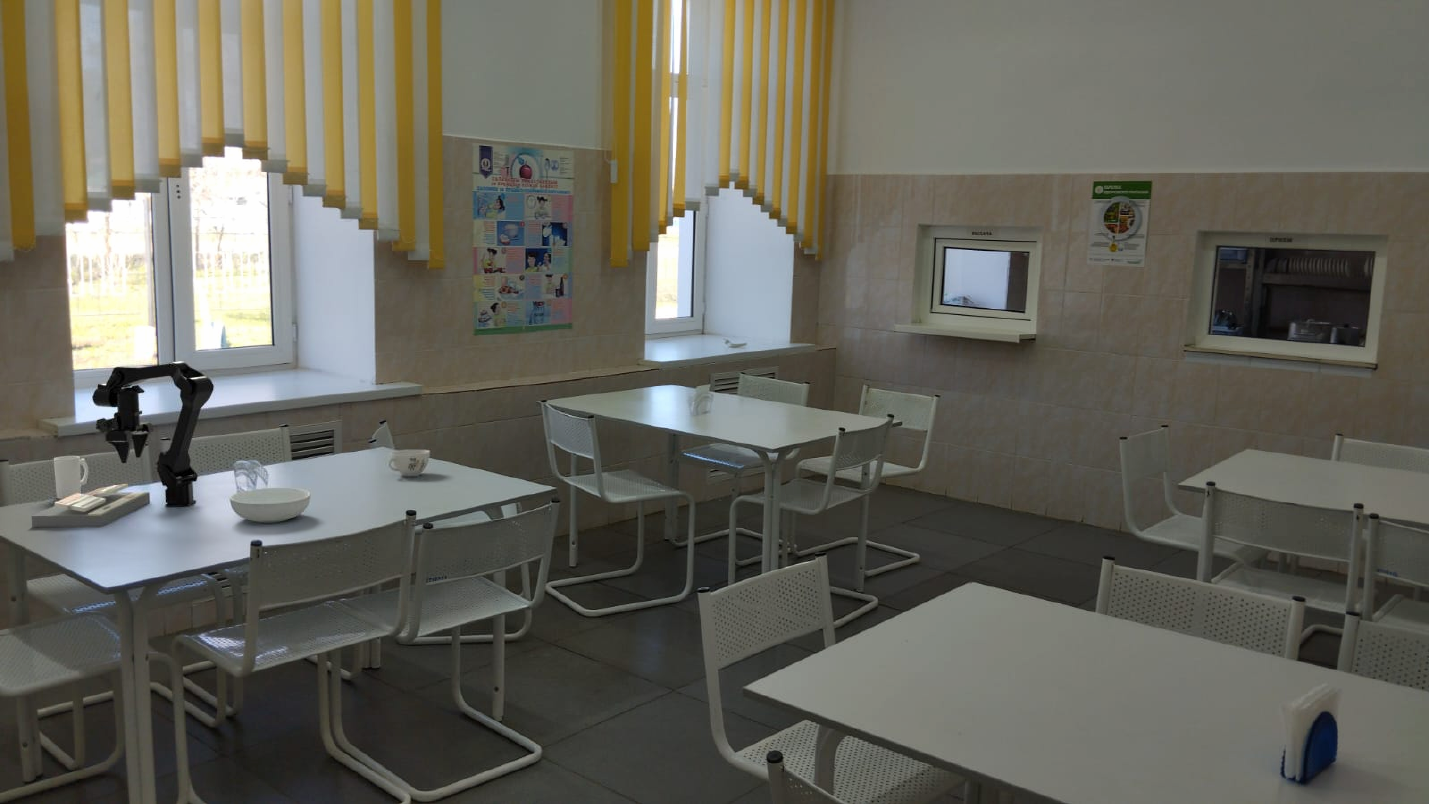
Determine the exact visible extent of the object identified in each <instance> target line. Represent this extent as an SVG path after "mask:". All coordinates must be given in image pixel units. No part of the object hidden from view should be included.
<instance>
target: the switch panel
mask: <svg viewBox="0 0 1429 804" xmlns="http://www.w3.org/2000/svg"><path fill="white" fill-rule="evenodd" d="M87 493H89V492H87V491H86V492H84V493H83V494H84V495H85V494H87ZM150 496H151V493H150V492H148V491H147V492H146V491H133V492H132V491H131V492H130V491H129V492H126V491H125V492H121V491H118V492H116V493H114V494H112V495H110V496H104V497H100V498H105V499H106V502H105V503H103V504H101V505H98V506H96V507H94V508H92V509H90V510H88V511H85V512H83V511H77V510H72V509H71V510H69V509H66V508H61V507H56V506H54V505H53V506H51V507H49V508H47V509H45V510H42V511H40V512H37V513H35V514H33V515H31V527H33V528H51V527H52V528H72V527H73V528H75V527H76V528H78V527H81V528H83V527H84V528H85V527H86V528H87V527H89V528H91V527H92V528H93V527H94V528H95V527H96V528H98V527H99V528H101V527H104V526H106V525H108V524H110V523H112V522H114V521H115V520H118V519H119V518H121V517H124V516H125V515H128V514H130V513H132V512H134V511H135V510H137V509H140V508H141V507H144V506H145V504H146V503H148V502H150V503H151V497H150ZM148 504H149V503H148ZM143 505H144V506H143ZM146 505H147V504H146Z"/></svg>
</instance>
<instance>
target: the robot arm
mask: <svg viewBox="0 0 1429 804" xmlns="http://www.w3.org/2000/svg"><path fill="white" fill-rule="evenodd" d="M164 377H170V378H171V379H172V381H173V384H174V386H175V387H176V388H178V389H179V390H180V393H179V397H180V401H181V404H182V406H181V409H180V412H179V415H178V419H177V423H176V426H175V429H174V433H173V437H172V440H171V442H170V446H169V448H168V450H164V451H160V452H159V456H158V460H157V462H156V463H155V464H156V467H157V468H156V472H157V474H158V476H159V479H160V482H161V484H162V487H166V488H165V489H164V490H165V503H166V504H164V505H165V507H189V506H191V505H192V504H194V503H196V502H197V500H196V499H194V485H193V484H194V483H196V482H197V480H198V477H199V475H198V473H197V472H196V471H195V470H194V468H193V467H192V466H191V457H190V454H189V449H190V447H191V443H192V440H193V436H194V433H195V429H196V426H197V423H198V419H199V416H200V413H201V409H202V408H203V407H204V405H205V404H206V403H207V402H208V401H209V400H210V399H211V396H212V394H213V392H214V390H215V389H214V388H215V385H214V383H213V381H212V380H211V378H209V377H208V376H206V375H205V374H204V373H202V372H201V371H199V370H197V369H195V368H193V367H192V366H189V365H188V363H186V361H185V362H184V361H183V360H182V361H181V360H180V361H172V362H169V363H165V364H155V365H150V366H143V365H137V364H136V365H135V364H131V365H123V366H115V367H114V368H112V371H111V375H110V376H109V378H108V380H107V382H106V383H98V384H97V388H96V389H95V390H94V392H93V393H92V394H93V395H92V402H93V404H94V405H95V406H96V407H103V408H104V407H105V408H117V411H116V412H114V413H113V417H111V418H109V419H106V418H105V417H102V418H99V419H96V423H95V429H96V430H98V431H99V432H100V434H101V435H102V434H104V433H105V434H104V441H105V442H107V443H108V444H111V445H112V446H113V447H114V448H115V449H116V451H117V452H116V453H117V454H118V457H119V459H120V461H121V464H127V463H128V460H129V455H130V451H131V448H132V444H133V449H134V454H135V458H138V459H139V458H141V456H142V455H143V452H144V450H145V448H146V445H147V443H148V442H149V439H150V437H151V436H152V433H153V432H154V424H153V423H151V422H148V421H147V422H146V421H141V417H140V415H143V410H140V400H139V399H140V397H139V394H144V393H145V392H146V391H145V390H144V388H143V387H140V385H139V384H140V383H144V382H145V381H147V380H149V379H150V380H151V379H156V378H164Z"/></svg>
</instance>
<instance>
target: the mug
mask: <svg viewBox="0 0 1429 804" xmlns="http://www.w3.org/2000/svg"><path fill="white" fill-rule="evenodd" d="M53 466H54V467H53V468H54V478H55V479H54V480H55V488H56V489H55V491H56V498H57V499H59V500H62V499H64V498H67V497H69V496H72V495H74V494H76V493H78V494H82V486H84V485H86V484H87V480H88V476H89V467H88V464H87V462H86V460H85V458H83V457H82V458H81V459H80V456H78V455H65V456H57V457H54V458H53ZM81 466H82V467H83V471H84V473H83V477H82V479H81Z"/></svg>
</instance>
